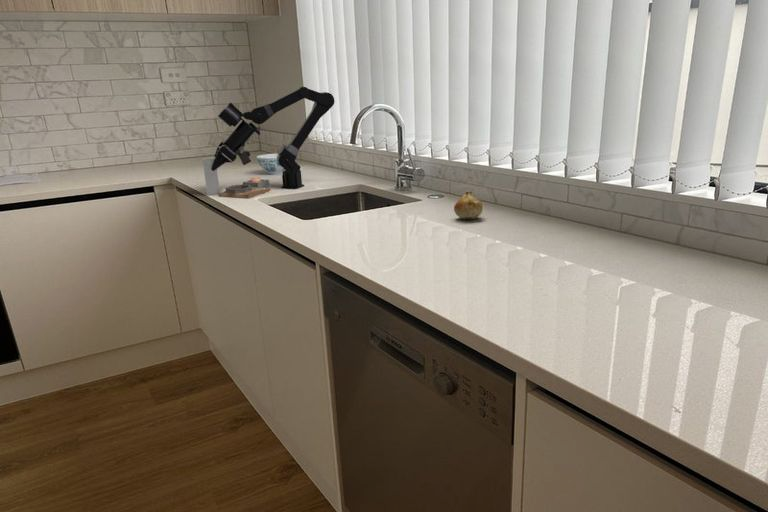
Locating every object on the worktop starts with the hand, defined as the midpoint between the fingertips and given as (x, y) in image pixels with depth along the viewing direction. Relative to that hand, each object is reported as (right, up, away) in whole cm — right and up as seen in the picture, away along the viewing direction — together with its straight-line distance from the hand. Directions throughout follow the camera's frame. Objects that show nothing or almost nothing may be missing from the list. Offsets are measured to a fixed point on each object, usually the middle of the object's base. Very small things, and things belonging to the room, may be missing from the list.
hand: (212, 168), depth 207 cm
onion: (+86, -21, -47) cm, 100 cm away
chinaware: (+15, +4, +44) cm, 47 cm away
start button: (+13, -4, +12) cm, 18 cm away
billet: (0, -9, +3) cm, 9 cm away
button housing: (+13, -5, +12) cm, 19 cm away
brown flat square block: (+12, -9, 0) cm, 15 cm away
